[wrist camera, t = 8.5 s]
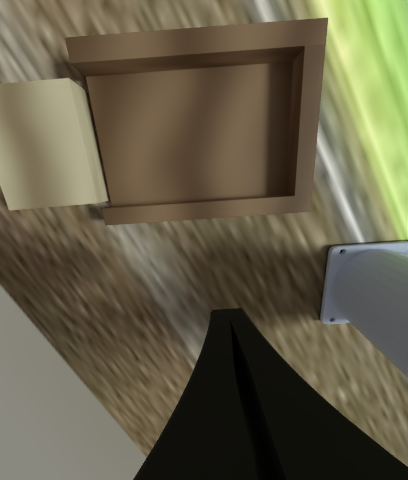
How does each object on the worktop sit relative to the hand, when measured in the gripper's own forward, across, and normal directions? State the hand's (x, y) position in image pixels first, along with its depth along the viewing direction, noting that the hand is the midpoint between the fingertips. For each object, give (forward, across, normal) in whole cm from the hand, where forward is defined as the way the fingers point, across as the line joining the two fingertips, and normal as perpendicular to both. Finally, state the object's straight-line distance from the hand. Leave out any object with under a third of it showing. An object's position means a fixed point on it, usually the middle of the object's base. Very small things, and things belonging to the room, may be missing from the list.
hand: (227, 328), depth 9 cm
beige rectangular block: (+10, +12, -9) cm, 18 cm away
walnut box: (+9, 0, -9) cm, 13 cm away
